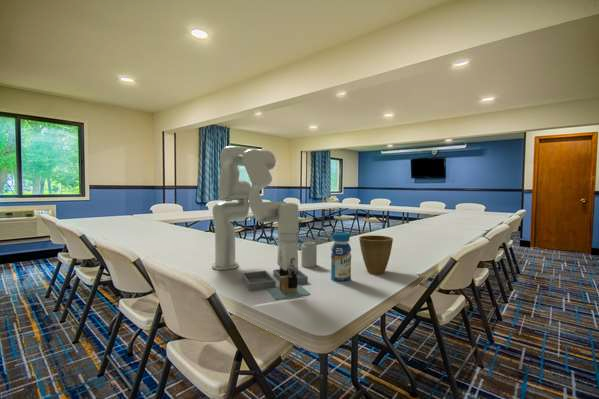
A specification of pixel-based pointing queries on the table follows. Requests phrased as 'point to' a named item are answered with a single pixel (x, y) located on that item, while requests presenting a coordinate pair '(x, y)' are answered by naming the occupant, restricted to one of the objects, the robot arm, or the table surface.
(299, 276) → the bin
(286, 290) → the letter cube
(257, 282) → the bin
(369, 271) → the plant pot
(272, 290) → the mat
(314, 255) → the can
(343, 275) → the beverage bottle
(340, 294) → the table surface
